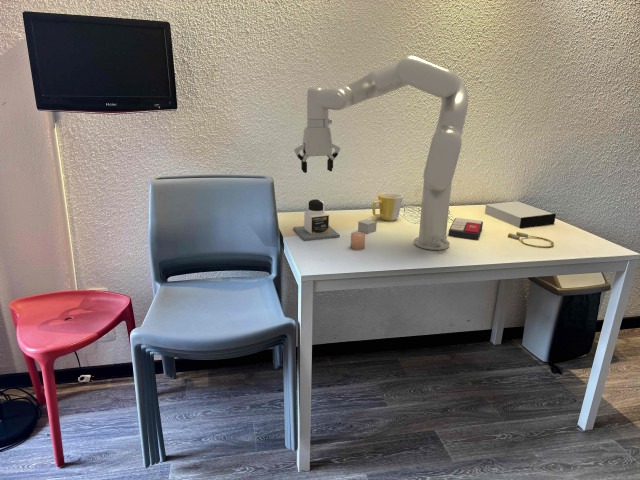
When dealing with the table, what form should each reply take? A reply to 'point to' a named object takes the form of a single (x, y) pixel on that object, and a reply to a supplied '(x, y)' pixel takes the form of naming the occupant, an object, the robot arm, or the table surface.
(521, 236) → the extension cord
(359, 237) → the terracotta cylinder
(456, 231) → the red and grey box
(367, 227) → the grey plastic block
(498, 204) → the disc drive
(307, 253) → the table surface
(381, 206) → the mug
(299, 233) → the slate mat
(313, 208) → the medicine bottle
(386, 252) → the table surface
